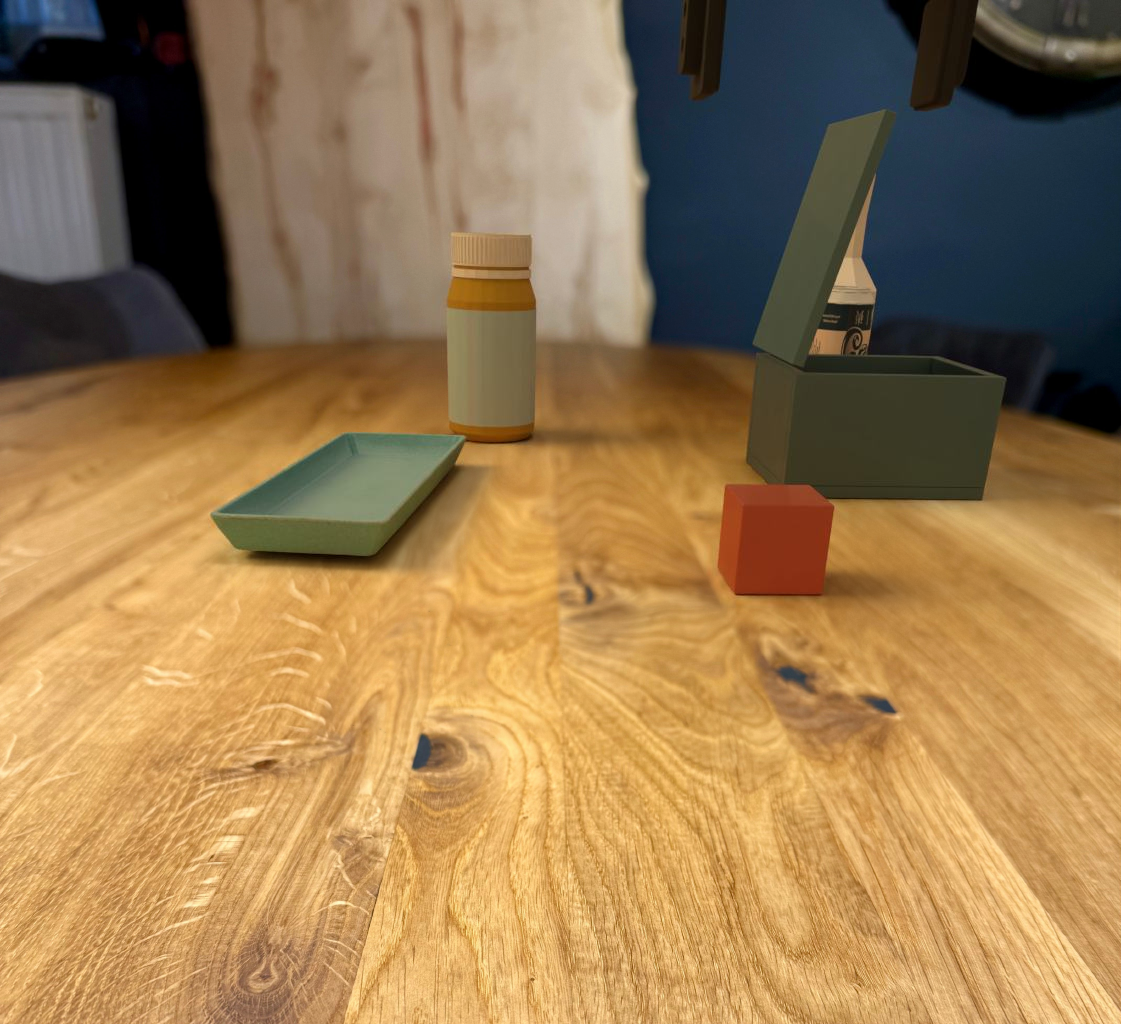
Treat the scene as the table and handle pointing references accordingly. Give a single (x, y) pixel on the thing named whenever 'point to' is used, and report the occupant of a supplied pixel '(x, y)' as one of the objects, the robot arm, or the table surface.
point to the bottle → (491, 337)
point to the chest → (874, 425)
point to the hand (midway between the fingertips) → (817, 102)
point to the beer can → (845, 322)
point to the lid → (822, 234)
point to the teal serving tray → (340, 494)
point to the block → (774, 539)
